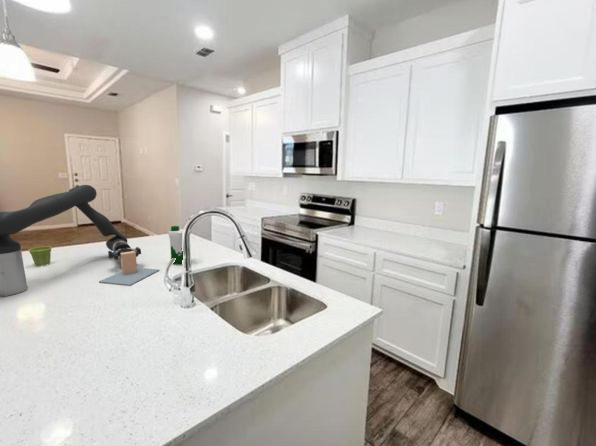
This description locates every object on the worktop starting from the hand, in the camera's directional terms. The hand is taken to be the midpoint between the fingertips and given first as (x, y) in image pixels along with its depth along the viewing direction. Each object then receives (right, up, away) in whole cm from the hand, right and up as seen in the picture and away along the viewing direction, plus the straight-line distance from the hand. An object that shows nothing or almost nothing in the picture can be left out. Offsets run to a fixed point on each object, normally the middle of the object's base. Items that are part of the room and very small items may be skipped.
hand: (127, 256), depth 147 cm
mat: (+5, -9, -5) cm, 11 cm away
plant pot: (-49, -6, +9) cm, 51 cm away
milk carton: (+20, -5, +16) cm, 26 cm away
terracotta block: (+2, -8, -2) cm, 8 cm away
